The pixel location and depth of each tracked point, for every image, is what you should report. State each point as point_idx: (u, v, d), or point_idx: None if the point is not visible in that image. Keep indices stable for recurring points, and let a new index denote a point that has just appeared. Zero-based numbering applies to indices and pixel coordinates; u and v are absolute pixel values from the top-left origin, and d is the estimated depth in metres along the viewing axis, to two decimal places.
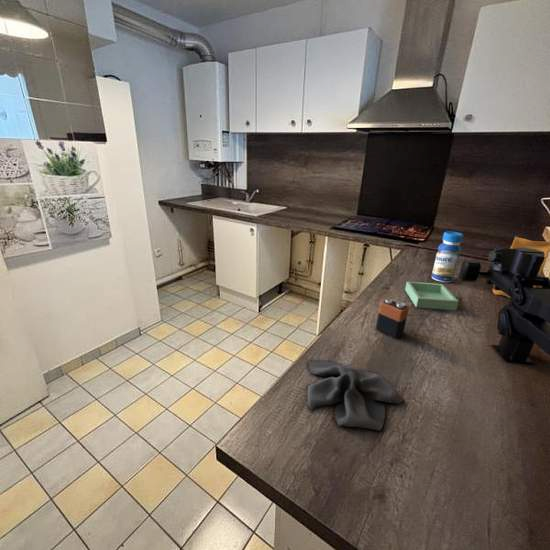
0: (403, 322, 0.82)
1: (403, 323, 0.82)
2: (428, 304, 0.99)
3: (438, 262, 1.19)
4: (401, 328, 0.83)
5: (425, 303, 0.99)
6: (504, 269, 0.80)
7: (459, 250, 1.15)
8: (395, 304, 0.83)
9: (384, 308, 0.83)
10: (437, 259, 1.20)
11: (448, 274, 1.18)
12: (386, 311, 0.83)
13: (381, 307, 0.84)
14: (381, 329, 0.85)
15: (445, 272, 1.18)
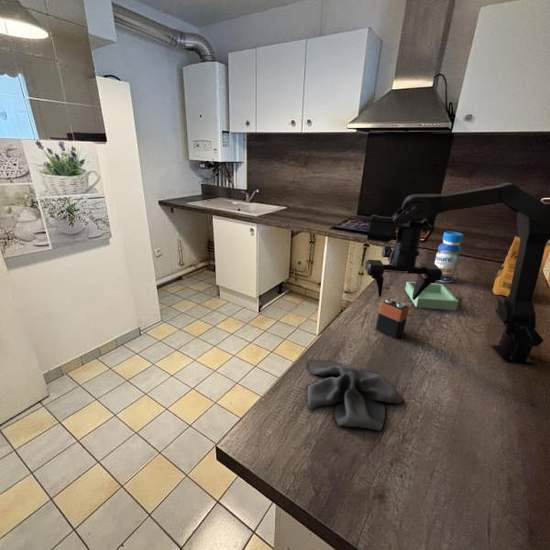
0: (403, 322, 0.82)
1: (403, 323, 0.82)
2: (428, 304, 0.99)
3: (438, 262, 1.19)
4: (401, 328, 0.83)
5: (425, 303, 0.99)
6: None
7: (459, 250, 1.15)
8: (395, 304, 0.83)
9: (384, 308, 0.83)
10: (437, 259, 1.20)
11: (448, 274, 1.18)
12: (386, 311, 0.83)
13: (381, 307, 0.84)
14: (381, 329, 0.85)
15: (445, 272, 1.18)
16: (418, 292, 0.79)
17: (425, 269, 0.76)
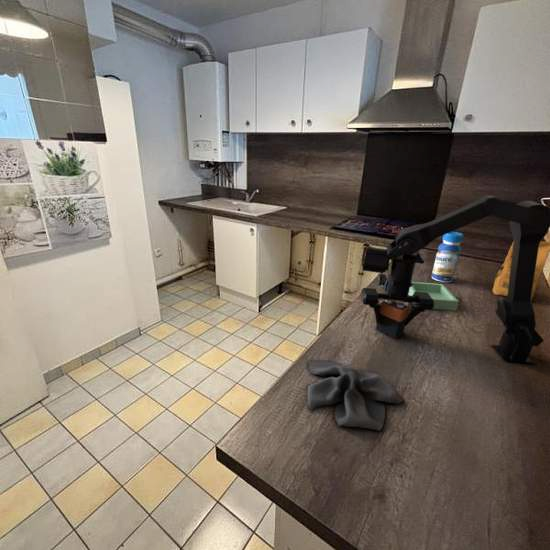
0: (403, 322, 0.82)
1: (403, 323, 0.82)
2: None
3: (438, 262, 1.19)
4: (401, 328, 0.83)
5: None
6: None
7: (459, 250, 1.15)
8: (395, 304, 0.83)
9: (384, 308, 0.83)
10: (437, 259, 1.20)
11: (448, 274, 1.18)
12: (386, 311, 0.83)
13: (381, 307, 0.84)
14: (381, 329, 0.85)
15: (445, 272, 1.18)
16: (409, 319, 0.82)
17: (418, 298, 0.80)
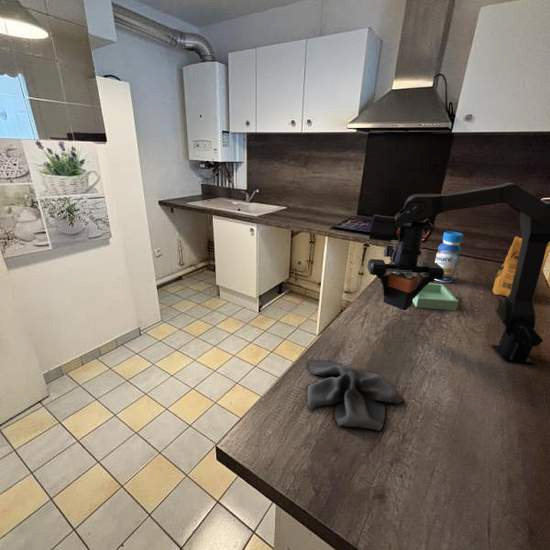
0: (412, 293, 0.80)
1: (411, 294, 0.80)
2: (428, 304, 0.99)
3: (438, 262, 1.19)
4: (409, 300, 0.80)
5: (425, 303, 0.99)
6: None
7: (459, 250, 1.15)
8: (403, 275, 0.80)
9: (392, 279, 0.81)
10: (437, 259, 1.20)
11: (448, 274, 1.18)
12: (394, 283, 0.80)
13: (389, 279, 0.81)
14: (389, 302, 0.83)
15: (445, 272, 1.18)
16: (417, 291, 0.80)
17: (427, 268, 0.77)
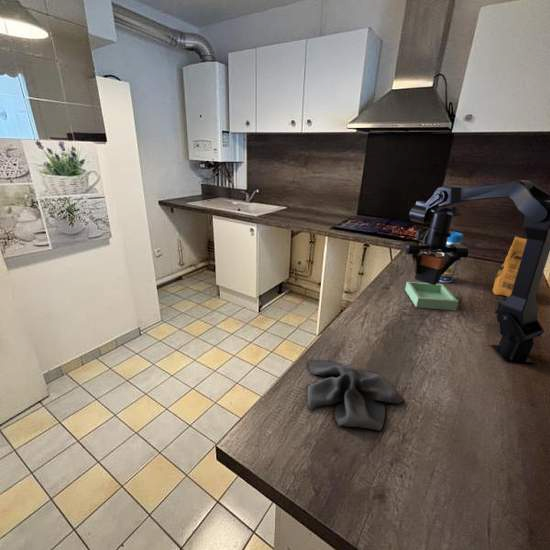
0: (440, 270, 0.94)
1: (440, 271, 0.94)
2: (428, 304, 0.99)
3: None
4: (439, 276, 0.94)
5: (425, 303, 0.99)
6: None
7: None
8: (433, 255, 0.94)
9: (423, 258, 0.94)
10: None
11: (448, 274, 1.18)
12: (425, 261, 0.94)
13: None
14: (420, 278, 0.97)
15: (445, 272, 1.18)
16: (445, 268, 0.94)
17: (454, 248, 0.91)
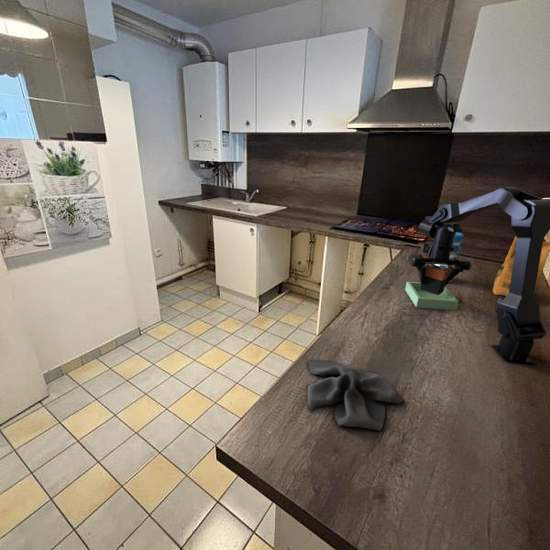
0: (444, 281, 1.00)
1: (444, 282, 1.00)
2: (428, 304, 0.99)
3: None
4: (442, 286, 1.01)
5: (425, 303, 0.99)
6: None
7: (459, 250, 1.15)
8: (437, 267, 1.01)
9: (428, 270, 1.01)
10: None
11: None
12: (430, 273, 1.01)
13: None
14: (425, 288, 1.04)
15: None
16: (449, 279, 1.00)
17: (457, 261, 0.98)
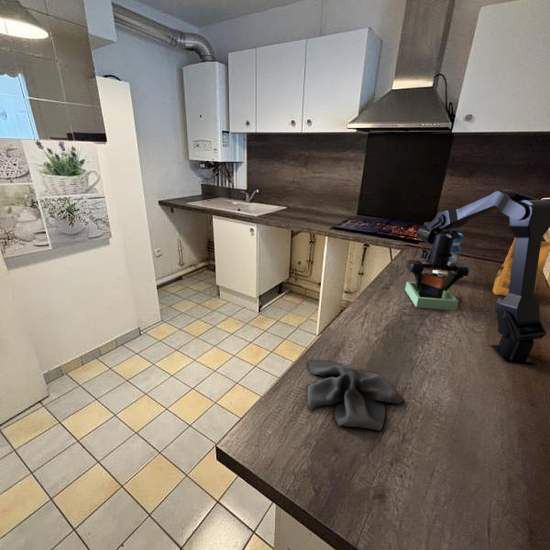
0: (442, 289, 1.01)
1: (442, 290, 1.01)
2: (428, 304, 0.99)
3: None
4: (440, 294, 1.02)
5: (425, 303, 0.99)
6: None
7: (459, 250, 1.15)
8: (435, 275, 1.02)
9: (426, 278, 1.02)
10: None
11: None
12: (428, 281, 1.02)
13: (424, 277, 1.03)
14: (423, 296, 1.05)
15: (445, 272, 1.18)
16: (449, 285, 1.01)
17: (455, 267, 0.99)
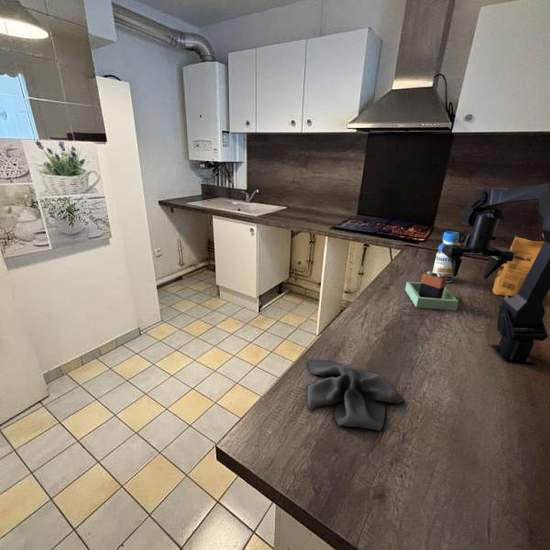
0: (442, 289, 1.01)
1: (442, 290, 1.01)
2: (428, 304, 0.99)
3: (438, 262, 1.19)
4: (440, 294, 1.02)
5: (425, 303, 0.99)
6: None
7: None
8: (435, 275, 1.02)
9: (426, 278, 1.02)
10: (437, 259, 1.20)
11: (448, 274, 1.18)
12: (428, 281, 1.02)
13: (424, 277, 1.03)
14: (423, 296, 1.05)
15: (445, 272, 1.18)
16: (490, 272, 0.92)
17: (498, 252, 0.89)
